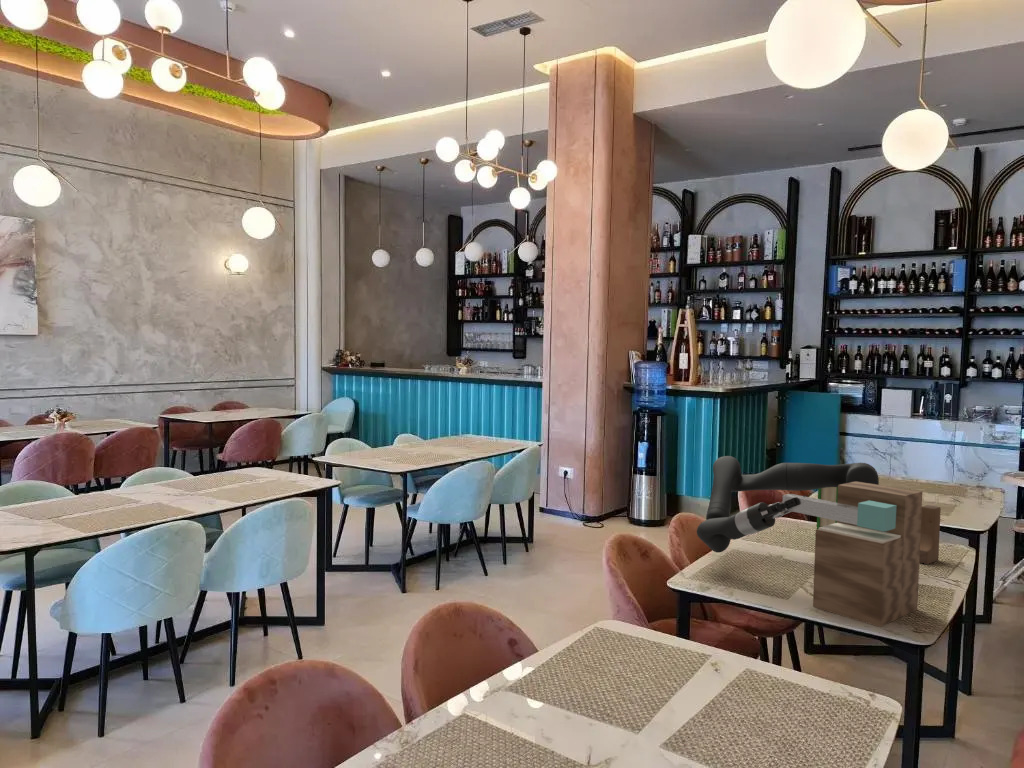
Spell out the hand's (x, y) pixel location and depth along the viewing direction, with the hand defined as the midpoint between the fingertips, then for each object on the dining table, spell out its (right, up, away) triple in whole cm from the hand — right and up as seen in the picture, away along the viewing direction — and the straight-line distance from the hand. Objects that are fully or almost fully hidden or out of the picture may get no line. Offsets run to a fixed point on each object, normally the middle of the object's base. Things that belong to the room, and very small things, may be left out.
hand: (802, 499), depth 206 cm
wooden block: (+56, -27, +38) cm, 73 cm away
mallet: (+6, -4, -7) cm, 10 cm away
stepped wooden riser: (+13, -28, -8) cm, 32 cm away
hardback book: (+38, -25, +67) cm, 81 cm away
